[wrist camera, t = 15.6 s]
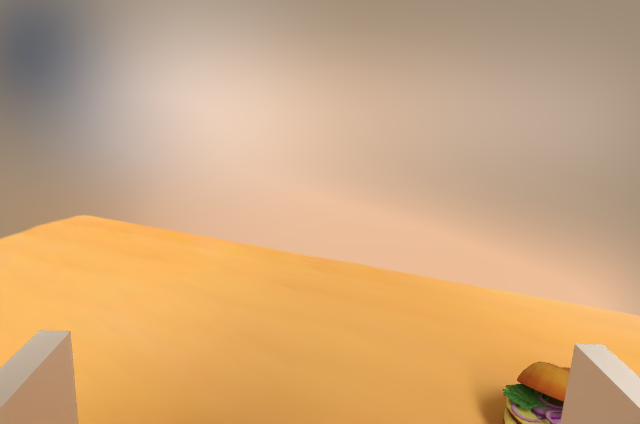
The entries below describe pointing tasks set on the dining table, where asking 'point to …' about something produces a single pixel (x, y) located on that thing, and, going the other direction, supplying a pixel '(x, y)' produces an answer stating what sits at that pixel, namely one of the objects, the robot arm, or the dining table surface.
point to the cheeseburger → (537, 395)
